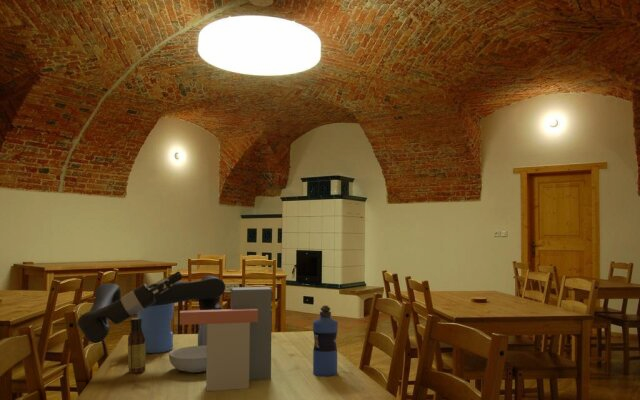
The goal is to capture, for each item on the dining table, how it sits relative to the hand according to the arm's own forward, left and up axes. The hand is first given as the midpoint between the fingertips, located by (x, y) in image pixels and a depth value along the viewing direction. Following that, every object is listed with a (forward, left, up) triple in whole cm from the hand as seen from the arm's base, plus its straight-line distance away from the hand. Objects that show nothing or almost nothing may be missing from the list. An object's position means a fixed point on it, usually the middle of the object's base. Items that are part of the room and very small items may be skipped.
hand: (180, 274), depth 188 cm
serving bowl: (-8, +19, -38) cm, 43 cm away
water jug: (-46, +36, -38) cm, 70 cm away
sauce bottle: (-26, +6, -38) cm, 46 cm away
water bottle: (+38, +37, -38) cm, 65 cm away
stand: (+16, +13, -38) cm, 43 cm away
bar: (+14, +4, -16) cm, 21 cm away
